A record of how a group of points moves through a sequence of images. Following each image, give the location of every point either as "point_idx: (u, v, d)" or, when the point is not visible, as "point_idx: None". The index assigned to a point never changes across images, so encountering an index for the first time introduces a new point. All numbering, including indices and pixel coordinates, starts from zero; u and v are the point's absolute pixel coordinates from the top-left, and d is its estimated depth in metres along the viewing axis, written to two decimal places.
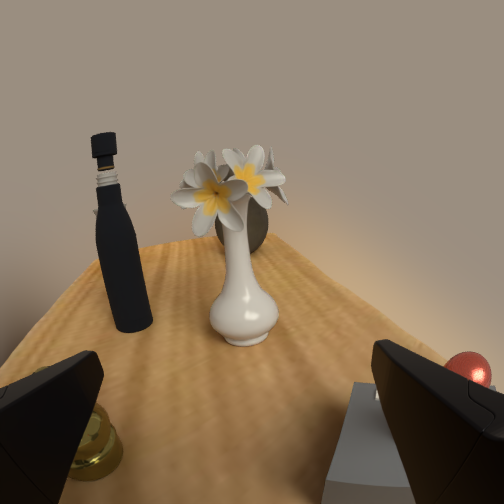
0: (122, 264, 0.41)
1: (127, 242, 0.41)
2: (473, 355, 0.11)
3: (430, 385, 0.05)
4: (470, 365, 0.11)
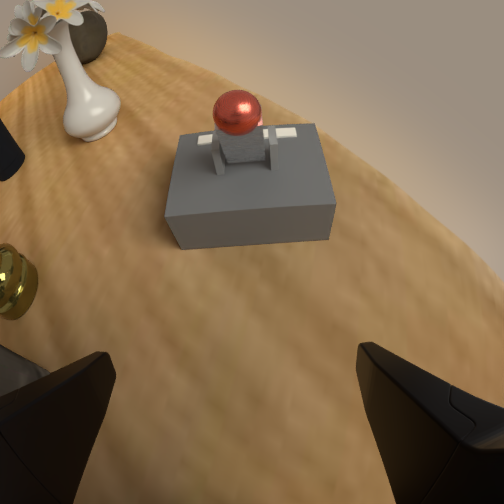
0: None
1: None
2: (235, 92, 0.16)
3: (410, 390, 0.05)
4: (230, 99, 0.16)
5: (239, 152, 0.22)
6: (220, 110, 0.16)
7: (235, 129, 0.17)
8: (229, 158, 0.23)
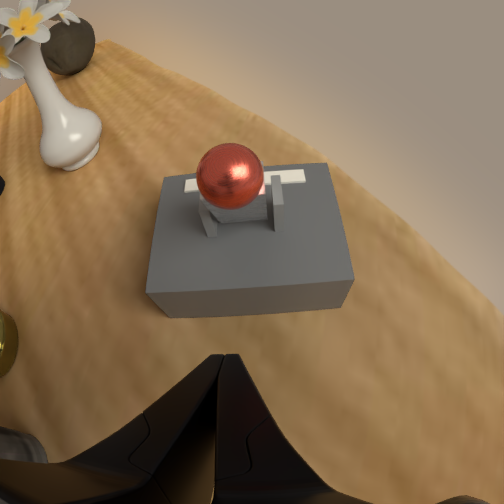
0: None
1: None
2: (226, 149, 0.12)
3: (221, 411, 0.05)
4: (219, 163, 0.12)
5: (234, 215, 0.18)
6: (205, 178, 0.12)
7: (227, 204, 0.13)
8: (223, 220, 0.19)
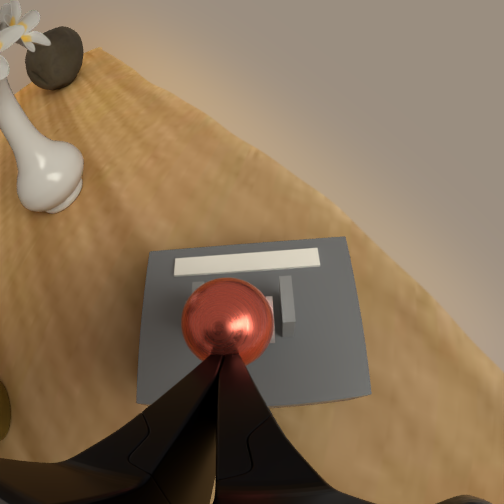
0: None
1: None
2: (221, 301, 0.09)
3: (222, 411, 0.05)
4: (212, 325, 0.08)
5: None
6: (193, 340, 0.09)
7: None
8: None
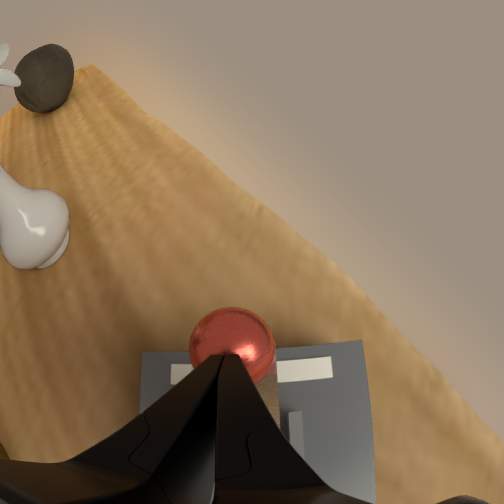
0: None
1: None
2: (230, 307, 0.10)
3: (221, 411, 0.05)
4: (219, 315, 0.10)
5: None
6: (199, 334, 0.09)
7: None
8: None
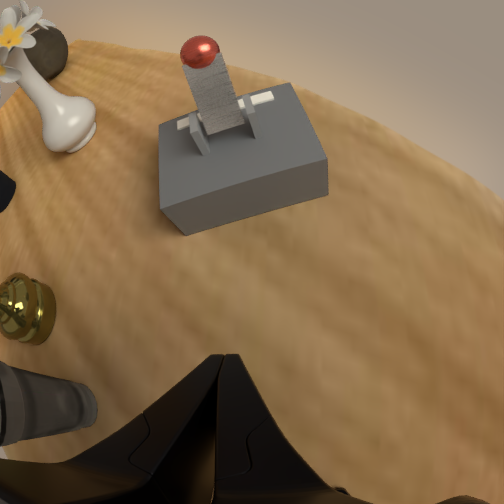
0: None
1: None
2: None
3: (221, 411, 0.05)
4: (191, 38, 0.19)
5: (213, 107, 0.21)
6: None
7: (194, 47, 0.18)
8: (207, 122, 0.22)
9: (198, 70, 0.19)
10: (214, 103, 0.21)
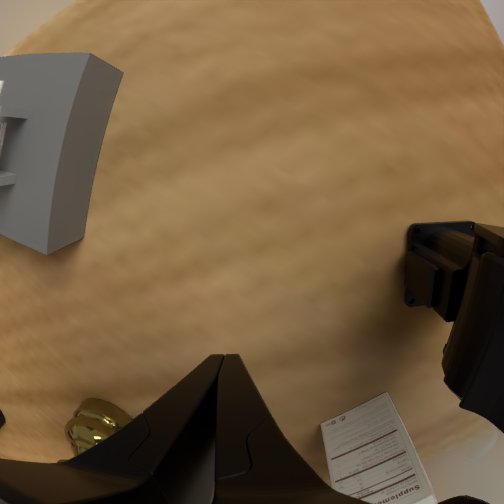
0: None
1: None
2: None
3: (221, 411, 0.05)
4: None
5: None
6: None
7: None
8: None
9: None
10: None
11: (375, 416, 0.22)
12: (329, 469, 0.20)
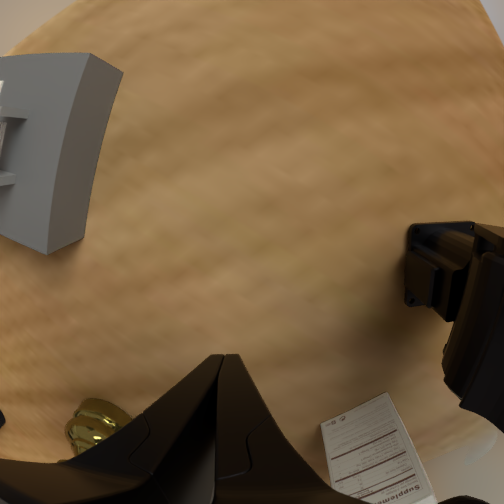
0: None
1: None
2: None
3: (221, 411, 0.05)
4: None
5: None
6: None
7: None
8: None
9: None
10: None
11: (375, 416, 0.22)
12: (329, 469, 0.20)
